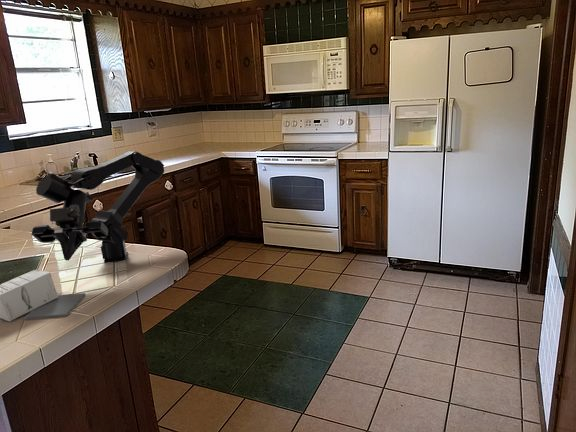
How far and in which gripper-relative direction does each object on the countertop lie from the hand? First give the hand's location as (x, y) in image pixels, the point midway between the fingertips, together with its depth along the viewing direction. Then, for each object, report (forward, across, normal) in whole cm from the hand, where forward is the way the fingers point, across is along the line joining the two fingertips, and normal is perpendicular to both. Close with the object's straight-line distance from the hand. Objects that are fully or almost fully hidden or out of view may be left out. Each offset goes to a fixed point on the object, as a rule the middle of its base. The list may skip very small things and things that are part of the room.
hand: (66, 259), depth 119 cm
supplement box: (+6, -3, -1) cm, 7 cm away
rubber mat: (+14, 0, -2) cm, 14 cm away
